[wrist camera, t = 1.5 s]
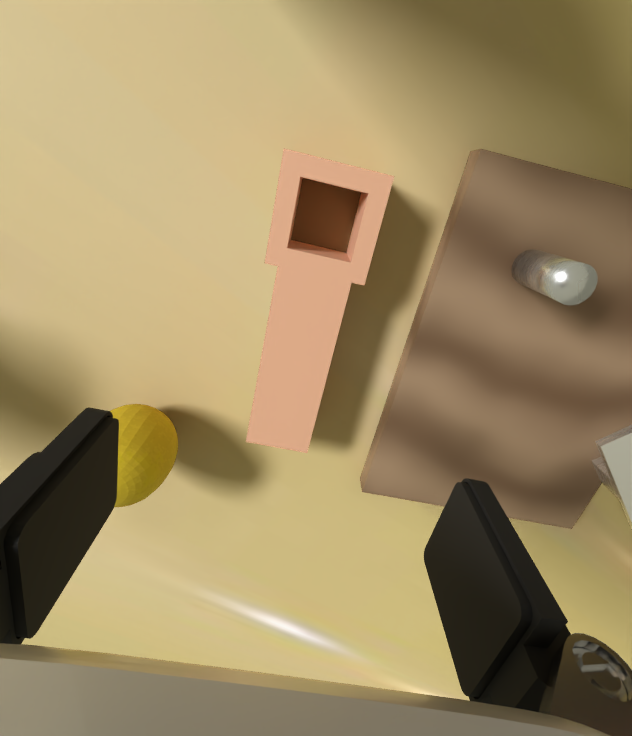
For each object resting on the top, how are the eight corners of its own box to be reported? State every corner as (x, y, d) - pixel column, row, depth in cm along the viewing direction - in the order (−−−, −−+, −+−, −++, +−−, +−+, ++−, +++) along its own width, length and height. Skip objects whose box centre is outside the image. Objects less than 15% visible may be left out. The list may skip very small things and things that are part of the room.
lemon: (207, 421, 29) (171, 499, 22) (158, 462, 31) (109, 549, 23) (147, 369, 27) (85, 435, 20) (98, 415, 29) (24, 493, 22)
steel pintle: (520, 245, 23) (566, 258, 18) (553, 253, 23) (605, 268, 19) (505, 280, 23) (546, 300, 19) (537, 287, 24) (584, 309, 19)
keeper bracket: (542, 393, 28) (600, 446, 22) (592, 369, 27) (665, 417, 22) (577, 470, 31) (637, 535, 25) (623, 450, 30) (695, 512, 24)
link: (288, 153, 22) (283, 148, 19) (383, 177, 22) (394, 176, 19) (243, 411, 29) (235, 439, 26) (317, 425, 29) (317, 454, 26)
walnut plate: (470, 151, 22) (481, 148, 21) (743, 223, 24) (770, 225, 22) (360, 478, 31) (362, 491, 30) (561, 514, 33) (571, 528, 31)
